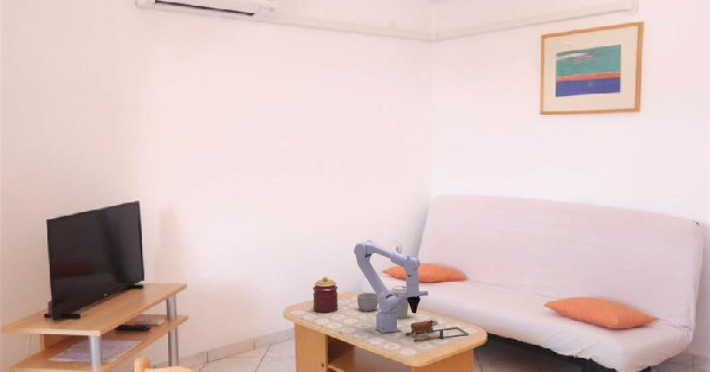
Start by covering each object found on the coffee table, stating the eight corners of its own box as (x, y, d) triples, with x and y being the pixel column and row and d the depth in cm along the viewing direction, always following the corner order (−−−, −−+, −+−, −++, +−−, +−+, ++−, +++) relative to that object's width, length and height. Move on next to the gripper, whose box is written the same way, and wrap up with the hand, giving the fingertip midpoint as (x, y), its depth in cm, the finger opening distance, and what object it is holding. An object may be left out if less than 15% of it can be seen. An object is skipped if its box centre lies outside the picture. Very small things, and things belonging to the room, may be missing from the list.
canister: (333, 314, 317) (332, 280, 316) (309, 312, 321) (309, 279, 319) (341, 307, 330) (340, 274, 328) (318, 305, 333) (317, 273, 332)
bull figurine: (439, 336, 280) (439, 319, 279) (412, 339, 276) (412, 322, 275) (435, 333, 284) (435, 316, 283) (408, 336, 280) (408, 319, 280)
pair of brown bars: (415, 342, 272) (415, 333, 272) (404, 334, 284) (404, 325, 283) (443, 338, 277) (443, 330, 276) (431, 330, 288) (431, 322, 288)
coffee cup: (407, 320, 305) (407, 290, 304) (389, 318, 308) (388, 289, 307) (412, 314, 314) (412, 285, 313) (394, 313, 317) (393, 284, 316)
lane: (443, 338, 277) (443, 337, 277) (432, 331, 288) (432, 329, 287) (468, 334, 281) (468, 333, 281) (457, 327, 292) (457, 326, 292)
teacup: (378, 312, 318) (377, 297, 318) (357, 312, 319) (356, 297, 318) (377, 305, 332) (377, 290, 332) (357, 305, 332) (357, 290, 332)
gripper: (401, 287, 276) (403, 317, 277) (430, 283, 281) (432, 312, 282) (395, 284, 283) (396, 313, 284) (423, 280, 288) (425, 309, 289)
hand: (414, 312), depth 283 cm, fingers closed
